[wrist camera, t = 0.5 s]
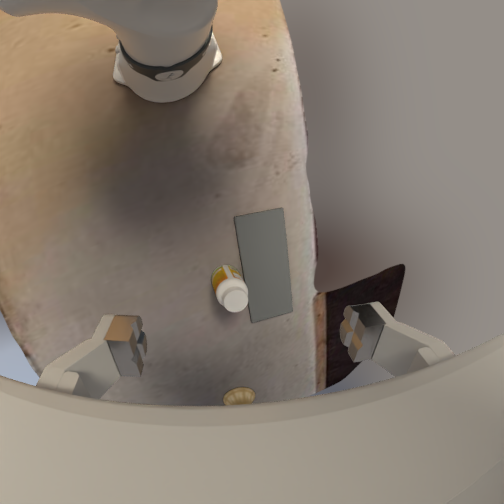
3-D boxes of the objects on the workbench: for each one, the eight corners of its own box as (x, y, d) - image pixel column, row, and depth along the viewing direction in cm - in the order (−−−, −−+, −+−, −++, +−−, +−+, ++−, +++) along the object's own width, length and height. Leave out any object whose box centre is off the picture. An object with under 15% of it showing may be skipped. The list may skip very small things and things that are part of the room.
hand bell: (226, 410, 64) (240, 458, 49) (219, 391, 61) (234, 442, 46) (256, 402, 65) (275, 448, 51) (252, 383, 62) (272, 431, 48)
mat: (233, 216, 48) (234, 217, 48) (281, 207, 50) (283, 208, 50) (251, 320, 56) (252, 322, 55) (291, 309, 58) (292, 311, 57)
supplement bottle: (211, 292, 52) (220, 318, 43) (209, 265, 50) (217, 288, 41) (239, 288, 53) (252, 314, 44) (238, 262, 51) (252, 284, 43)
